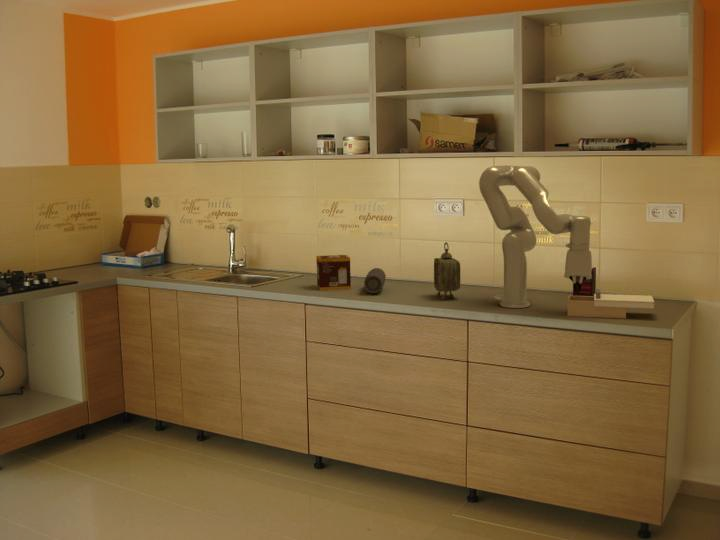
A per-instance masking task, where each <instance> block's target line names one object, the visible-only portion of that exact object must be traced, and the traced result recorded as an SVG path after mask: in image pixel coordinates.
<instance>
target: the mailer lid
mask: <svg viewBox="0 0 720 540" xmlns="http://www.w3.org/2000/svg"><path fill="white" fill-rule="evenodd" d="M653 297H654V296H653V295H642V294H641V295H640V294H639V295H637V294H636V295H635V294H634V295H633V294H613V293H612V294H607V293H606V294H605V293H601V289H600V288H596V294H594V306H603V307H626V308H634V309H654V308H655V300H654V298H653Z"/></svg>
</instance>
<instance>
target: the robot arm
mask: <svg viewBox="0 0 720 540" xmlns="http://www.w3.org/2000/svg"><path fill="white" fill-rule="evenodd" d="M540 180H541V173H540V171H539V170H538V168H536V167H534V166H532V165H531V166H530V165H528V166H524V165H523V166H521V165H494V166H490V167H488V168H486V169H484V170H483V172H482V173H481V175H480V177H479V180H478V187H479V190H480V191H479V192H480V193H481V194H480V195H481V196H482V197H483V200H484V202H485V204H486V206H487V208H488V211H489V213H490V215H491V217H492V220H493V221H494V223H495V226H496V227H497V228H498V229H499V230H501V231H510V232H508V233H506V234H505V235H504V237H503V238H502V241H501V249H502V255H503V293H502V294H500V295H492V300H493V301H500V302H499V306H500V307H502V308H507V309H525V308H526V309H527V308H528V307H530V306H531V302H529V301H527V284H528V283H527V281H528V278H527V275H528V262H527V257H526V252H530V251H532V250H533V249H534V248H535V247H536V245H537V236H536V234H535V232H534V229H533V226H532V223H530V220H529V217H528V216H527V214H526V213H525V211H524V210H523V209H521V208H520V207H518V206H511V205H510V203H509V201H508V199H507V197H506V195H505V194H504V192H503V191H502V190H501V189H500V188H501V187H502V186H503V187H504V186H505V187H506V186H512V187H513V186H515V188H516V189H518V191H519V192H520V193H521V194H522V196H524V198H525V199H526V200H527V201H528V203H529V204H530V205H531V207H532V210H533V214H534V216H535V218H536V219H537V221H538V222H539V223H540V224H541V225H542V226H543V228H544V229H545V230H547V232H548V233H550V234H551V235H552V234H553V235H560V234H561V235H562V234H565V233H569V243H566V244H565V248H568V250H567V252H566V255H565V263H564V275H563V278H565V279H569V280H571V282H572V284H573V283H574V288H573V287H572V292H573V291H575V293H579V291H581V283H582V282H584V281H585V280H586V279H591V278H592V275H591V272H592V267H593V266H592V265H593V261H592V260H593V256H592V250H590V242H591V241H590V239H591V218H590V217H589V216H588V215H587V216H586V215H574V214H573V215H572V214H569V213H561V214H557V213H556V212H555V210H553V208H552V207H551V206H550V204H549V201H548V197H549V191H548V188H546V186H544V185H543V184H542V183H541V182H540ZM576 276H580V280H579V281H578V289H577V281H576Z"/></svg>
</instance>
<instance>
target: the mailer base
mask: <svg viewBox="0 0 720 540" xmlns="http://www.w3.org/2000/svg"><path fill="white" fill-rule="evenodd" d="M566 309H567V313H566V314H567V317H581V318H582V317H583V318H584V317H585V318H605V319H607V318H610V319H627V307H603V306H594V296H573V295H568V297H567V308H566Z"/></svg>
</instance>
